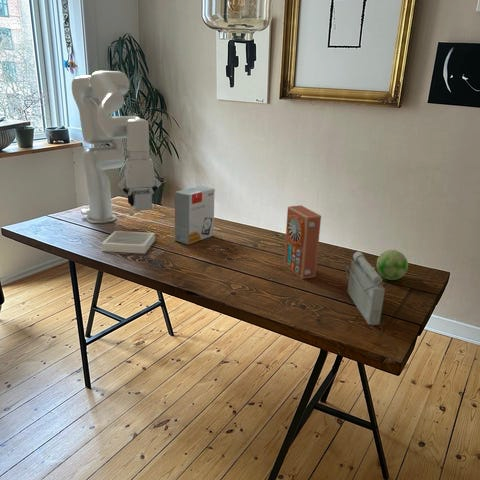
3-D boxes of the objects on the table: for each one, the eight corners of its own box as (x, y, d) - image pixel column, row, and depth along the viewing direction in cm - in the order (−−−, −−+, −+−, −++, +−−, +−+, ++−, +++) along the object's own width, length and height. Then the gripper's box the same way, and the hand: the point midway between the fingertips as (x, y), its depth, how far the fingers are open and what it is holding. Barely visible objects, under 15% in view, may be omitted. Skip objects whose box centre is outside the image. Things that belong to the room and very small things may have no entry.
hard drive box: (188, 245, 175) (187, 195, 168) (174, 241, 179) (173, 191, 172) (214, 235, 186) (214, 188, 179) (200, 231, 191) (200, 184, 184)
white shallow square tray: (102, 251, 167) (101, 243, 166) (115, 238, 180) (114, 230, 179) (144, 253, 166) (144, 245, 165) (154, 240, 179) (154, 233, 178)
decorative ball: (371, 280, 150) (375, 252, 146) (379, 270, 158) (383, 243, 154) (401, 288, 145) (406, 259, 142) (408, 277, 153) (413, 249, 150)
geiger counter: (391, 278, 118) (360, 244, 142) (367, 278, 118) (340, 244, 141) (383, 325, 123) (354, 284, 147) (360, 325, 123) (335, 284, 146)
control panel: (301, 281, 148) (280, 263, 160) (320, 278, 150) (297, 261, 163) (307, 218, 140) (283, 205, 153) (326, 216, 143) (301, 203, 156)
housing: (129, 203, 169) (129, 186, 167) (145, 202, 171) (145, 185, 169) (135, 211, 160) (134, 193, 158) (152, 209, 163) (151, 192, 160)
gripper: (115, 158, 153) (118, 209, 159) (165, 156, 159) (166, 205, 166) (111, 154, 159) (114, 203, 165) (160, 152, 166) (161, 200, 172)
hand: (140, 204), depth 166 cm, fingers closed on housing, 6 cm apart
